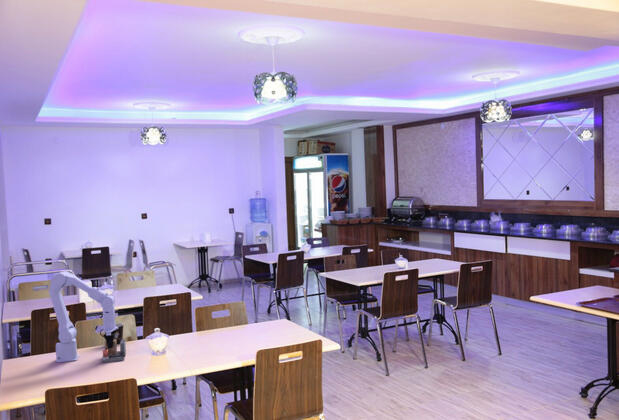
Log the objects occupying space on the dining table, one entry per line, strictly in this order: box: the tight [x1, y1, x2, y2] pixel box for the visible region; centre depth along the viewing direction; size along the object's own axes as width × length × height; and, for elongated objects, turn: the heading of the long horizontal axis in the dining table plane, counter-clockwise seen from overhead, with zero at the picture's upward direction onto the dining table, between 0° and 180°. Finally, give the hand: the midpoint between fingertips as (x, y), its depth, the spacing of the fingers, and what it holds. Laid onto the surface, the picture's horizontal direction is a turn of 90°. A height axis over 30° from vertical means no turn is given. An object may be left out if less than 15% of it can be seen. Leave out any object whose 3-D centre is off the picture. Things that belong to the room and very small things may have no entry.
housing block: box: [104, 339, 118, 354], centre depth 286 cm, size 5×5×6 cm
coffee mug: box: [99, 322, 124, 345], centre depth 311 cm, size 12×9×10 cm
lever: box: [101, 349, 109, 360], centre depth 277 cm, size 3×3×4 cm
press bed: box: [101, 338, 127, 364], centre depth 283 cm, size 10×14×7 cm
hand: (110, 346), depth 286 cm, fingers closed on housing block, 5 cm apart
